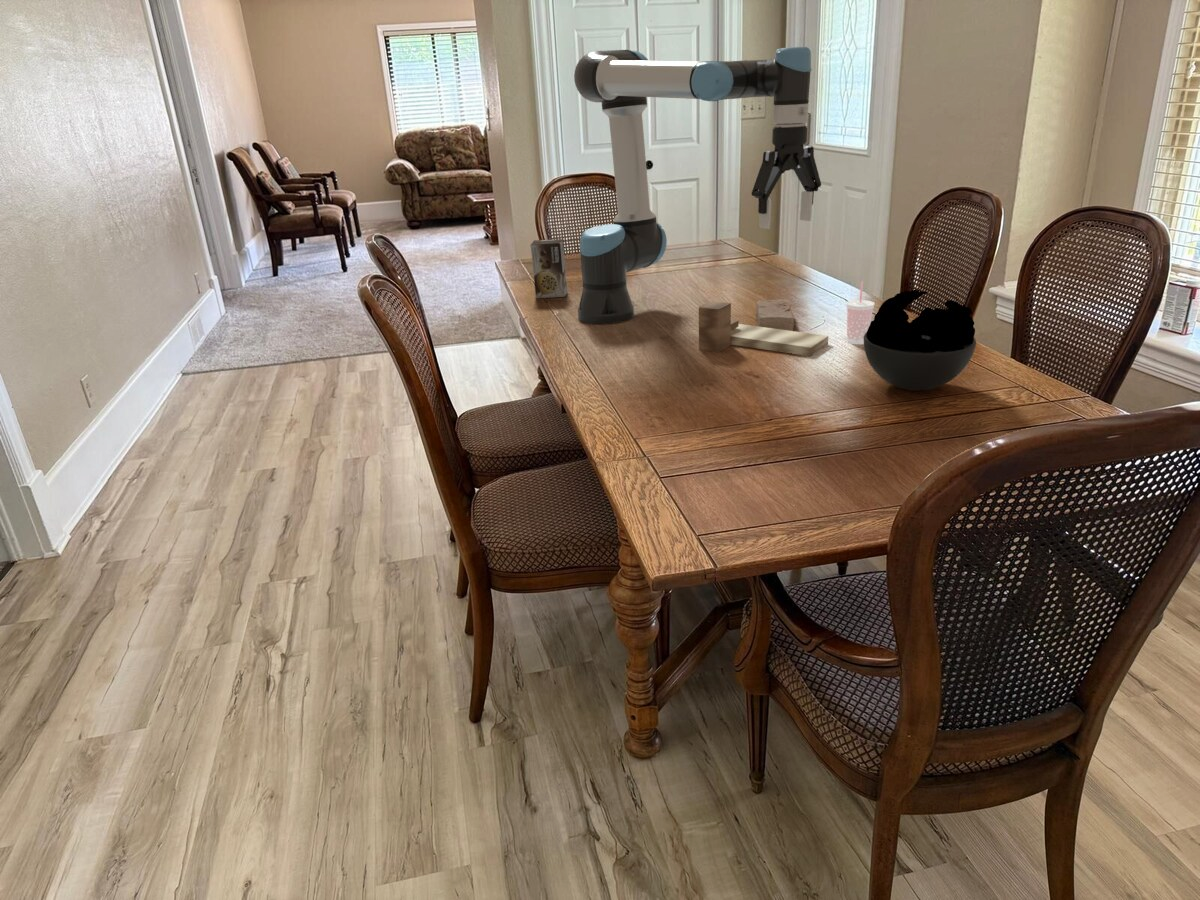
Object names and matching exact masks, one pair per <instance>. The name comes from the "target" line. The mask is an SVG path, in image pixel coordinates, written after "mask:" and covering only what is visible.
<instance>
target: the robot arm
mask: <svg viewBox="0 0 1200 900" xmlns="http://www.w3.org/2000/svg"><path fill="white" fill-rule="evenodd" d="M774 54H775V55H774V58H771V59H754V60H753V59H750V60H748V59H747V60H727V61H725V60H723V61H719V60H716V61H715V60H710V61H709V60H707V61H705V60H704V61H699V60H695V61H693V60H692V61H691V60H690V61H689V60H649V59H648V58H647V57H646V56H645V55H644V54H643V53H641V52H640V51H637V50H631V49H613V50H594V51H590V52H588V53H586V54H585V55H583V56H582V57H581V58H580V59H579V61H578V62H577V64H576V66H575V69H574V74H573V75H574V76H573V79H574V80H573V81H574V85H575V87H576V89H577V91H578V93H579V94H580V95H581V97H582V98H584V99H585V100H587V101H589V102H592V103H601V111H602V113H604V114H605V115H606V116H607V117H608V122H609V131H610V142H611V144H610V145H611V153H612V161H613V174H614V175H613V176H614V183H615V184H614V185H615V193H616V205H617V206H616V207H617V214H616V216H615V217H614V218H613V221H612V222H613V223H609V224H602V225H596V226H591V228H588V229H586V230H585V231H584V232H582V234H581V235H580V239H579V240H580V242H579V243H580V244H579V245H580V246H579V252H580V254H579V255H580V267H581V277H582V292H581V295H580V296H581V297H580V300H579V304H578V309H577V317H578V320H579V321H581V322H583V323H585V324H586V323H587V324H592V325H594V324H595V325H607V324H608V325H609V324H611V325H612V324H618V323H622V322H626V321H629V320H631V319H633V318H634V316H635V308H634V304H633V302H632V298H631V295H630V293H629V290H628V288H627V287H628V286H627V273H629V272H633V271H635V270H638V269H645V268H648V267H650V266H652V265H654V264H656V263H658V262H659V261H660V260H661V258H663V256H664V254H665V252H666V249H667V234H666V231H665V230H664V229H663V228H662V225H661V224H660V223H659V222H657V215H656V213H654V212H653V211H652V210H651V208H650V205H651V204H650V194H649V183H648V182H649V181H648V172H647V171H648V169H647V161H646V160H647V159H646V158H647V157H646V146H645V136H644V135H645V134H644V133H645V132H644V121H643V112H644V111H645V110H646V108H647V107H648V98H662V99H663V98H664V99H665V98H666V99H687V100H691V99H692V100H701V101H705V102H718V101H721V100H722V101H724V100H725V101H726V100H735V99H736V100H737V99H750V98H765V97H767V98H768V97H769V98H770V97H773V108H772V109H773V110H772V124H773V125H775V126H774V127H773V128H772V133H771V134H772V137H771V142H772V145H773V146H774V150H765V151H763V154H762V155H763V156H762V162H761V165H760V168H759V170H758V173H757V176H756V178H755V179H756V180H755V182H754V185H753V188H752V191H751V196H753V197H754V198H755V199H758V205H757V206H758V211H757V212H758V214H759V218H758V219H759V223H758V224H759V225H758V228H759V229H765V230H770V229H771V219H772V218H771V217H772V198H769V197H770V196H771V194H772V192H773V190H774V189H775V186H776V185H777V183H778V182H779V180H780V178H781V176H782V174H784V173H785V172H786V171H790V170H792V171H794V173H795V174H796V177H797V178H798V180H799V182H800V185H802V187H803V189H804V190H801V193H800V194H801V198H800V211H799V212H800V213H799V214H800V215H799V217H800V218H799V220H800V221H805V222H806V221H807V222H811V221H812V212H813V211H812V210H813V205H814V195H815V194H814V193H815V192H818V190H819V188H821V186H822V182H821V179H820V178H821V177H820V174H819V170H818V167H817V163H816V159H815V156H814V155H815V154H814V153H815V150H814V149H815V148H814V146H810V145H805V144H807V141H808V126H807V125H805V124H807V123H808V120H809V119H808V118H809V102H810V99H809V98H810V96H809V95H810V86H811V85H810V84H811V72H812V51H811V49H810V48H809V47H808V46H793V47H792V46H791V47H781V48H778V49H776V51H775V53H774Z"/></svg>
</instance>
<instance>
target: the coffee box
mask: <svg viewBox="0 0 1200 900" xmlns="http://www.w3.org/2000/svg"><path fill="white" fill-rule="evenodd" d="M530 252H531V261H532V271H533V272H532V273H533V282H534V293H535V295H534V296H535V298H536V299H542V298H548V299H549V298H566V295H567V294H568V285H567V284H568V283H567V274H566V273H567V272H566V262H565V261H566V260H565V249H564V238H559V239H558V238H557V239H556V238H555V239H554V238H553V239H539V240H537V239H536V240H533V241H532V242H531V243H530Z"/></svg>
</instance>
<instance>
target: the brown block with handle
mask: <svg viewBox="0 0 1200 900" xmlns="http://www.w3.org/2000/svg"><path fill="white" fill-rule="evenodd" d="M731 317H732V303H731V302H724V301H715V300H711V301H709V302H706V303H704V304H702V305H700V306H698V350H702V351H706V352H707V351H708V352H714V353H719V352H721V351H723V350H725V349H727V348H729V346H731V344H730V339H731V330H733V329H735V328H737V327H738V326H739V324H740V323H739V321H740V320H737V319H732V318H731Z"/></svg>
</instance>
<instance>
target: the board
mask: <svg viewBox="0 0 1200 900" xmlns="http://www.w3.org/2000/svg"><path fill="white" fill-rule="evenodd" d="M828 345H829V335H826V334H825V335H824V334H817V333H810V332H801V331H795V330H793V331H788V330H781V329H773V328H766V327H758V325H751V324H750V325H749V324H743V323H739V326H738V327H737V328H735V329H733V330H731V339H730V346H737V347H746V348H753V349H759V350H766V351H772V352H778V351H779V353H787V354H791V353H792V355H799V356H806V357H812V356H814V354H816V353H817V352H819V351H821V349H823V348H825V347H826V346H828Z"/></svg>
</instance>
